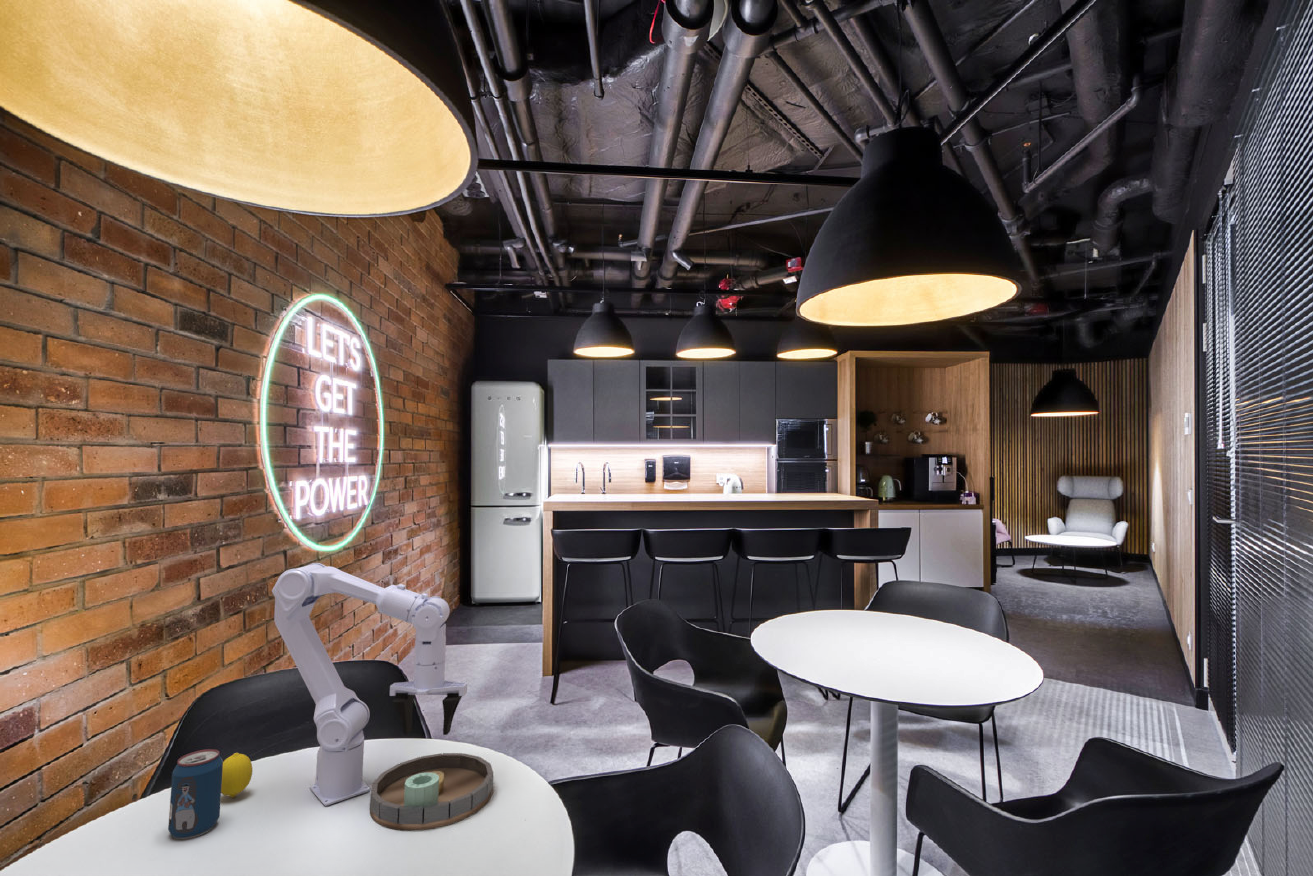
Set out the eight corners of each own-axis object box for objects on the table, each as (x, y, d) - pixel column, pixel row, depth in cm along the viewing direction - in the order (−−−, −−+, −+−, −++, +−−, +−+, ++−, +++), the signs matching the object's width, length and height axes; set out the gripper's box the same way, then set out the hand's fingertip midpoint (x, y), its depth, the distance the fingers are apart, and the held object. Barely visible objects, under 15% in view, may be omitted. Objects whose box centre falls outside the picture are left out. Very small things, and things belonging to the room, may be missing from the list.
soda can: (215, 814, 106) (219, 744, 107) (222, 830, 101) (227, 756, 102) (165, 829, 101) (170, 756, 102) (170, 847, 96) (175, 770, 97)
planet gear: (399, 809, 106) (400, 779, 107) (429, 797, 110) (430, 769, 111) (411, 821, 102) (412, 791, 103) (443, 809, 106) (444, 780, 107)
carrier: (351, 797, 112) (352, 775, 112) (459, 760, 127) (459, 741, 128) (398, 846, 97) (399, 820, 97) (514, 798, 112) (514, 775, 113)
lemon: (208, 801, 110) (211, 756, 111) (238, 787, 116) (241, 744, 116) (227, 807, 108) (230, 762, 109) (257, 793, 113) (260, 749, 114)
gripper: (383, 667, 114) (380, 741, 113) (460, 667, 114) (457, 741, 113) (399, 657, 121) (396, 726, 120) (471, 657, 121) (469, 726, 120)
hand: (427, 732), depth 117 cm, fingers open, 7 cm apart
